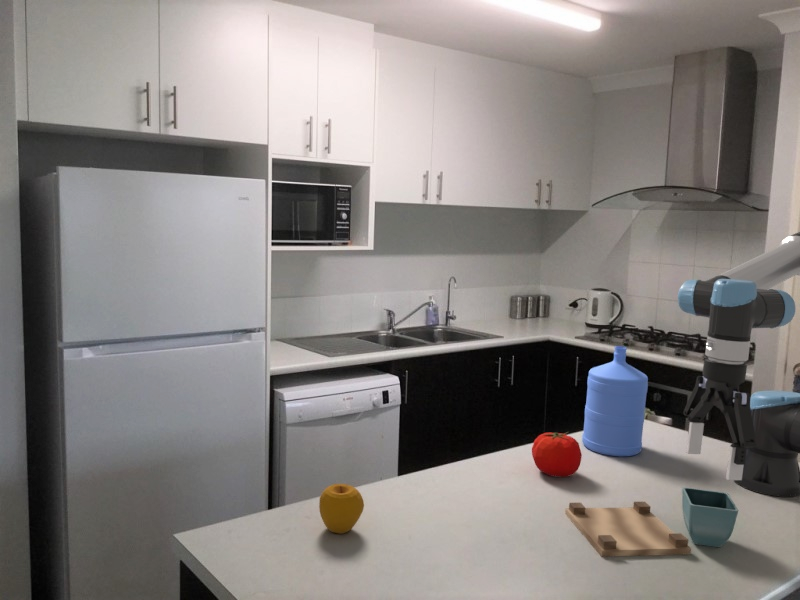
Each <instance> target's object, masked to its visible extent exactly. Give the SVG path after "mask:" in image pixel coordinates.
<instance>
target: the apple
mask: <svg viewBox="0 0 800 600" xmlns="http://www.w3.org/2000/svg"><path fill="white" fill-rule="evenodd" d="M318 503H319V507H318V508H319V509H318V510H319V513H320V517H321V520H322V522H323V524H324V526H325V528H327V529H328V531H330V532H332V533H333V534H334V533H335V534H340V535H341V534H342V535H343V534H346V533H348V532H350V530H351V531H352V529H353V528H354V527H355V525H356V524H357V522H358V521H359V519H360V518H361V515H362V514H363V512H364V507H365V504H364V499H363V496H362V494H361V492H360V491H359V490H358V489H357V487H356V488H355V487H354V486H352V485H350V484H349V485H348V484H344V483H334V484H331V485H329V486H327V487H326V488H324V490H323V491H322V492H321V495H320V496H319V502H318Z"/></svg>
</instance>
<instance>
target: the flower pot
mask: <svg viewBox="0 0 800 600" xmlns="http://www.w3.org/2000/svg"><path fill="white" fill-rule="evenodd" d="M681 489H682V490H681V491H682V492H681V493H682V496H681V497H682V499H681V502H682V507H681V509H682V516H683V520H684V524H685V528H686V530H687V532H688V535H689V537H690V540H691V542H692V544H694V545H698V546H699V545H700V546H708V547H714V548H721V547H722V546H724V545H725V543H727V541H729V539H730V538H731V536H732V534H733V531H734V529H735V525H736V521H737V517H738V514H739V509H738V507H737V506H736V504H735V502H734V501H733V499H732V497H731V496H730V494H729V493H727V492H723V491H714V490H708V489H707V490H705V489H700V488H699V489H698V488H695V487H694V488H691V487H682V488H681Z"/></svg>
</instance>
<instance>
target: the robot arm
mask: <svg viewBox="0 0 800 600" xmlns="http://www.w3.org/2000/svg"><path fill="white" fill-rule="evenodd" d="M795 276H800V231H798V232H796V233H793V234H792V235H789V236H787V237H785V238H784V239H782V240H781V241H780V242H779V244H778V246H777V247H774V248H772V249H770V250H768V251H766V252H764V253H762V254H760V255H758V256H756V257H754V258H751V259H749V260H748V261H745V262H743V263H741V264H739V265H737V266H735V267H733V268H730V269H729V270H726V271H724V272H722V273H720V274H717V275H716V276H714V277H711V278H710V279H707V280H701V279H688V280H686V281H684V282H683V284H681V286H680V287H679V289H678V293H677V302H678V303H677V304H678V307H679V308H680V310H681V311H682V312H683V313H685V314H689V315H694V316H695V317H703V318H708V320H709V321H708V328H707V330H708V331H707V337H706V343H705V353H704V354H705V356H707V357H706V358H705V359H703V366H702V367H703V368H702V375H697V376H696V381H695V385H694V387H693V389H692V391H691V394H690V395H689V399H688V400H687V403H686V404H685V407H684V408H683V412H682V413H683V415H684V416H687V420H688V422H689V423H688V430H687V442H686V452H685V453H686V454H687V455H701V453H702V452H701V451H702V445H703V444H702V443H703V434H704V428H705V427H704V426H705V423H704V422H705V419H704V418H705V417H706V416H707V415H708V413H710V412H711V410H712V409H713V407H714V406H715V407H716V408H718V409H719V410H720V412H721V413H722V414H723V415H724V417H725V420H726V421H725V422H726V424H727V428H728V430H729V433H730V437H731V440H732V444H730V446H729V450H728V451H729V452H728V460H727V466H726V467H727V469H726V476H725V479H726V480H727V481H733V482H735V483H736V484H737V485H739V486H740V487H743V488H745V489H747V490H749V491H753V492H756V493H759V494H764V495H768V496H775V497H784V498H786V497H787V498H788V497H789V498H790V497H796V496H799V495H800V465H799V459H798V457H799V454H800V393H799V392H795V391H785V390H760V391H755V392H753V394H750V392H740V385H741V384H743V383H745V382H746V378H747V369H748V368H747V367H748V365H747V363H746V362H747V361H749V354H750V346H751V335H752V329H774V328H779V327H783V326H787V325H788V324H789V323H790V322H791V321H792V320H793V319H794V317H795V314H796V302H795V301H794V299H793V296H791V295H790V294H789V293H788V292H786V291H784V290H781V289H780V290H779V289H773V287H776V286H777V285H779V284H781V283H783V282H785V281H787V280H789V279H792V278H793V277H795Z"/></svg>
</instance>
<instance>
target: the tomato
mask: <svg viewBox="0 0 800 600" xmlns="http://www.w3.org/2000/svg"><path fill="white" fill-rule="evenodd" d="M567 433H569V431H567V432H565V433H559V432H550V431H549V432H544V433H541V434H539V435H538V436H537V437H536V438H535V439H534V441H533V445H532V447H531V455H532V458H533V461H534V464H535V467H536V468H537V469H538V470H539V471H541V472H542V473H544V474H546V475H548V476H550V477H558V478H559V477H561V478H567V477H570V476H572V475H574V474H575V473H577V471H578V470H579V468H580V466H581V462H582V458H583V457H582V451H581V448H580V443H579V442H578V441H577V440H576V439H575V438H574V437H572V435H571V436H569V435H567Z"/></svg>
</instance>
